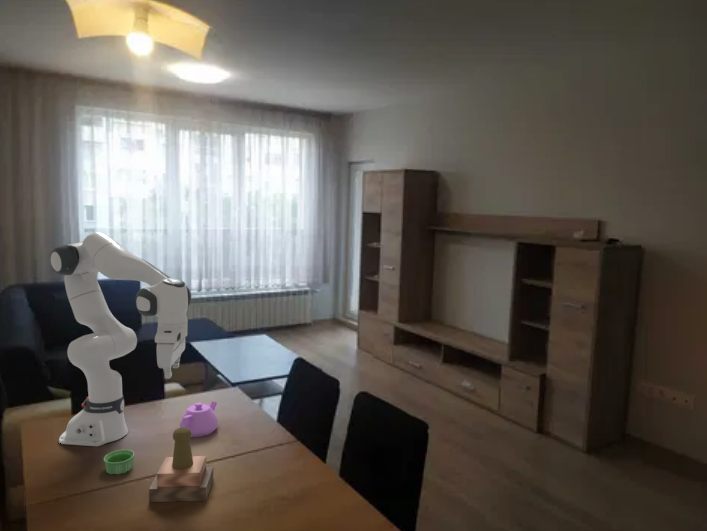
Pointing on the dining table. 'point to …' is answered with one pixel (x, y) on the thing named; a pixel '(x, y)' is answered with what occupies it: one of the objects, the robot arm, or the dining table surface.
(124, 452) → the ramekin
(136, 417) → the dining table surface
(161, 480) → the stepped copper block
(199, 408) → the teapot
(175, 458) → the cork
